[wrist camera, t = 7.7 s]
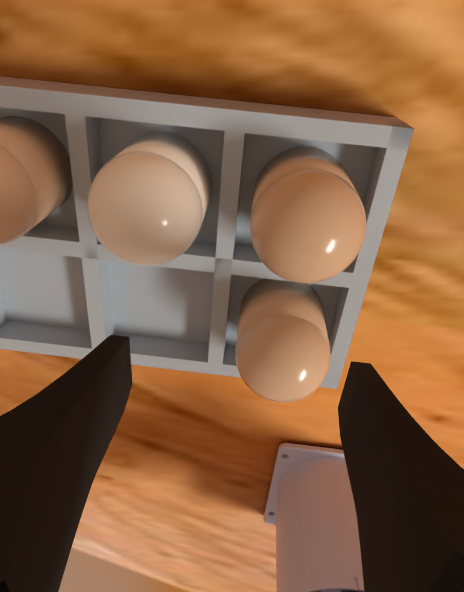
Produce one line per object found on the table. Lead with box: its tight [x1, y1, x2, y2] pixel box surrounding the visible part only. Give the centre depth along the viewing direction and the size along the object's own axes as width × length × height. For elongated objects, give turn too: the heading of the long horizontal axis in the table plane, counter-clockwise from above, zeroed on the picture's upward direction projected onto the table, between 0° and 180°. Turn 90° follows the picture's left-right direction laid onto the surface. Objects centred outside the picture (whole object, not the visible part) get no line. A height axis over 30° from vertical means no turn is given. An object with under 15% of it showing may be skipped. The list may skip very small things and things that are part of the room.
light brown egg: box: [87, 132, 212, 266], centre depth 17 cm, size 4×4×6 cm
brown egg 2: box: [250, 147, 366, 283], centre depth 17 cm, size 4×4×6 cm
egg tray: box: [0, 76, 414, 389], centre depth 21 cm, size 14×20×3 cm
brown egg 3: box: [235, 278, 331, 403], centre depth 20 cm, size 4×4×6 cm
